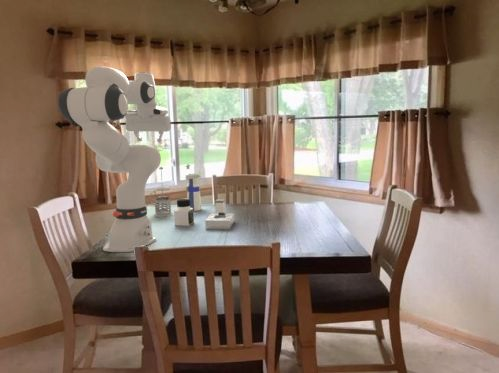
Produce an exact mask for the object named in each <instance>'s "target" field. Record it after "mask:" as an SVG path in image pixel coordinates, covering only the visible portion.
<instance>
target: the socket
mask: <svg viewBox="0 0 499 373" xmlns="http://www.w3.org/2000/svg"><path fill="white" fill-rule="evenodd" d="M204 222H205V225H204V227H205V230H231V229H232V226H233V224H234V222H235V213H226V211H225V212H219V213H216V212H214V213H210V214H209V215H208V216H207V218H206V219H205V221H204Z"/></svg>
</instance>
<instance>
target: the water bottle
mask: <svg viewBox="0 0 499 373" xmlns="http://www.w3.org/2000/svg"><path fill="white" fill-rule="evenodd" d="M190 166H191V165H190V164H189V163H187V165H185V167H186V170H190ZM200 178H201V174H200V173H189V174H186V175H185V181H187V184H186V187H185V189H186V193H187V194H186V195H187V196H186V198H187V199H189V200H190V208H193V212H197V211H200V210H202V203H201V202H202V200H201V192H200V186H201V185H200V182H199V180H200Z"/></svg>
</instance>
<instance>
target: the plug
mask: <svg viewBox="0 0 499 373" xmlns="http://www.w3.org/2000/svg"><path fill="white" fill-rule="evenodd" d="M214 202H215V203H214V204H215V206H214V207H215V213H219V212H225V213H226V204H225V203H226V202H225V198H219V199H218V198H217V199H215V201H214Z"/></svg>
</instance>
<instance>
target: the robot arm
mask: <svg viewBox="0 0 499 373" xmlns="http://www.w3.org/2000/svg"><path fill="white" fill-rule="evenodd" d="M155 82H156V81H155V78H154V74H152V73H150V72H146V71H141V72H140V71H139V72H136V73H135V74H134V80H129V79H128V78H127V76H126V75H125V73H123V72H122V71H120V70H118V69H115V68H113V67H109V66H103V65H102V66H100V65H99V66H94V67H92V68H91V69H89V70H88V71H87V73H86V74H85V85H86V86H83V87H82V86H81V87H76V88H75V87H70V88H66V89H64V90H61V91H60V93H59V94H58V96H57V97H58V98H57V109H58V110H59V113H60V114H61V115H62V117H63V118H64V119H65V120H66V121H68V122H70V124H71V125H72V126H73V127H75V128H76V127H81V129H82V133H81V134H82V135H81V136H82V139H83V141H84V143H85V144H86V145H87V146H88V148H90V150H91V151H92V152H94V153H95V163H96V166H97V168H98V169H99V170H100V171H103V172H106V173H111V174H122V173H123V174H125V173H126V174H128V176H127V180H125V181H123V182H121V183H120V184H119V185H118V186H117V187H116V190H115V195H116V196H115V197H116V199H115V200H116V208H115V211H113V212H112V216H113V217H115V219H114V222H113V223H112V226H111V229H110V230H109V232H108V241H107V242H106V244H104V246H103V247H102V251H104V252H109V253H110V252H111V253H129V252H131V253H132V252H135V251H134V247H135V246H141V245H147V246H148V245H150V244H152V243H154V242H156V241H157V238H156V237H155V236H153V228H152V220H150V218H149V217H148V216H147V215H148V209H147V208H148V207H147V205H146V185H147V182H148V180H149V178H150V176H151V175H152V174H153V173H154V172H155V171H156V170H158V168H160V165H161V160H162V159H161V153H160V151H159V150H158V148H157V147H155V146H152V145H146V144H130V143H129V140H128V138H127V137H126V136H125V135H124V134H122V132H120V131H119V130H118V128H116V127H114V126H113V125H112V124H110V122H109V121H112V122H114V121H119V120H122V119H124V118H125V129H126V131H127V132H133V134H134V136H135V137H136V141H137V142H142V141H143V138H142V137H141V136H140V135H139V133H140V132H153V133H154V132H156V133H157V132H158V134H159V136H158V137H156V139H157V140H156V141H157V142H159V143H160V142H162V141H163V140H162V138H163V136H164V132H166V133H167V132H169V131H171V129H172V124H171V119H170V115H169V114H168V109H167V108H165V107H162V106H159V105H158V103H157V100H156V94H157V91H156V83H155ZM129 105H135V108H136V110H135V109H134V110H132V109H131V110H128V109H129V108H128V106H129Z"/></svg>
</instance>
